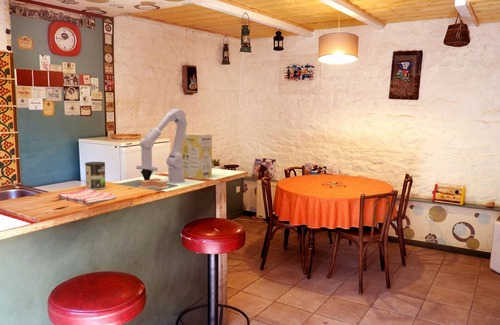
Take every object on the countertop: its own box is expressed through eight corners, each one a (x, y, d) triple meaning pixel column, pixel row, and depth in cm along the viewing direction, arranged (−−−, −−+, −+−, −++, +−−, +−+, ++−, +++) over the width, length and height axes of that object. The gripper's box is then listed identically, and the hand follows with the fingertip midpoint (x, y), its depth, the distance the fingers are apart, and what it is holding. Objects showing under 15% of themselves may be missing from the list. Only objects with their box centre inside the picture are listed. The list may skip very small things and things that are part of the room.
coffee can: (109, 186, 233) (108, 162, 231) (99, 190, 223) (98, 164, 221) (92, 185, 235) (91, 161, 233) (81, 189, 225) (81, 163, 223)
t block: (155, 183, 244) (155, 178, 244) (171, 185, 238) (171, 180, 238) (140, 186, 234) (140, 181, 233) (156, 188, 228) (156, 183, 227)
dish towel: (87, 193, 217) (86, 186, 217) (117, 199, 205) (117, 192, 205) (57, 199, 203) (56, 192, 203) (87, 206, 191) (87, 198, 190)
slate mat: (138, 180, 255) (138, 179, 255) (178, 185, 240) (178, 185, 240) (115, 184, 239) (115, 184, 239) (156, 191, 224) (156, 190, 224)
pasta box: (211, 177, 270) (211, 134, 267) (200, 179, 262) (200, 135, 258) (191, 174, 281) (191, 133, 277) (180, 176, 273) (180, 133, 269)
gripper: (132, 158, 238) (132, 182, 239) (151, 161, 231) (151, 185, 232) (141, 157, 244) (141, 180, 246) (159, 159, 237) (160, 183, 238)
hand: (146, 182), depth 239 cm, fingers closed
